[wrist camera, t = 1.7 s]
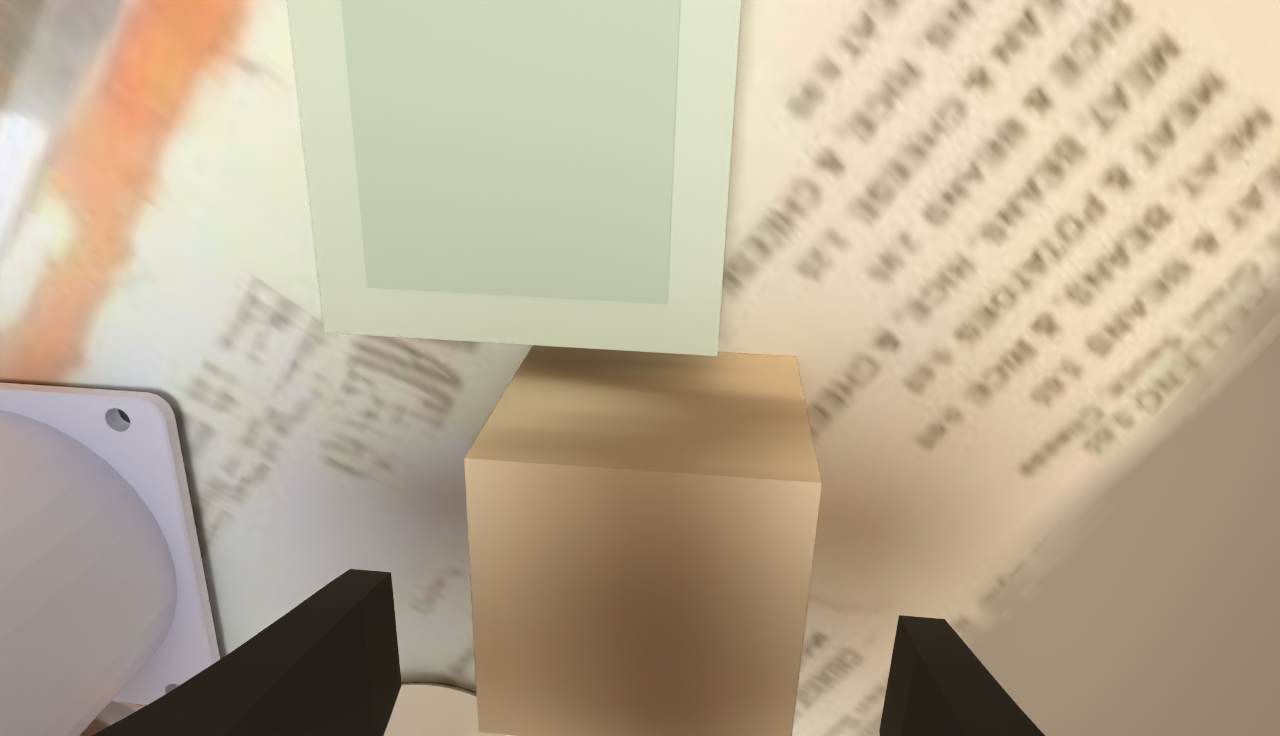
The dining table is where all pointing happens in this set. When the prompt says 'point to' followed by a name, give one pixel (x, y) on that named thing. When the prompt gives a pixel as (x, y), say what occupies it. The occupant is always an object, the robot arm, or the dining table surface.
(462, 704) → the can
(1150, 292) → the dining table surface
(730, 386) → the block
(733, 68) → the base
